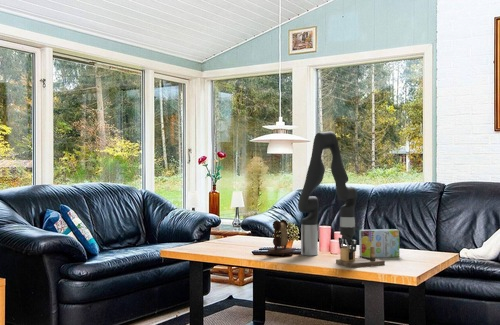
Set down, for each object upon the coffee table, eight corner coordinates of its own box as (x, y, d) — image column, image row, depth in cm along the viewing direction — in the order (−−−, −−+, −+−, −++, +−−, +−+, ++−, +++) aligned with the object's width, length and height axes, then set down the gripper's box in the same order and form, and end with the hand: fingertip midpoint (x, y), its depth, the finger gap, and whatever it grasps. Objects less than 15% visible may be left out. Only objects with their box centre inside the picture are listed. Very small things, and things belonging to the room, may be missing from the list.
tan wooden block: (340, 259, 284) (340, 248, 284) (349, 258, 286) (349, 247, 286) (346, 261, 279) (345, 249, 279) (355, 260, 281) (355, 248, 281)
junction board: (336, 263, 284) (335, 245, 284) (368, 260, 292) (368, 243, 292) (350, 267, 271) (350, 249, 271) (384, 264, 279) (384, 247, 279)
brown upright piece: (284, 258, 303) (283, 221, 303) (262, 255, 312) (262, 220, 312) (298, 254, 314) (298, 219, 315) (277, 252, 323) (276, 218, 324)
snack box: (396, 255, 310) (396, 228, 310) (399, 257, 304) (399, 229, 304) (359, 256, 309) (359, 229, 309) (361, 257, 303) (361, 230, 303)
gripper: (333, 224, 288) (334, 257, 287) (348, 227, 274) (349, 261, 274) (346, 224, 291) (346, 256, 290) (361, 226, 277) (361, 260, 277)
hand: (347, 258), depth 282 cm, fingers closed on tan wooden block, 5 cm apart
